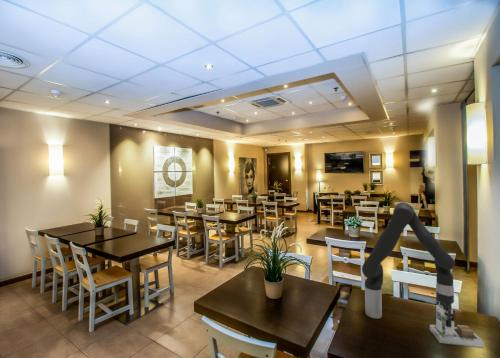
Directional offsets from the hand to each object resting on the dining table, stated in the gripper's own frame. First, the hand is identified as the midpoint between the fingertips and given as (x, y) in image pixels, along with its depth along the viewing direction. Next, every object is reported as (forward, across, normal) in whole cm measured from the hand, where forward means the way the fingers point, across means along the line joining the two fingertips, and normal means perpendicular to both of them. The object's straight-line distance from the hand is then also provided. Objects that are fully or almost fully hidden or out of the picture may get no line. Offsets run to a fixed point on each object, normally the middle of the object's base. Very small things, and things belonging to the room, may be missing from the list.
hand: (445, 322), depth 134 cm
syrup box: (+6, 0, 0) cm, 6 cm away
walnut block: (+8, 0, +9) cm, 12 cm away
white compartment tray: (+8, 0, +5) cm, 9 cm away
